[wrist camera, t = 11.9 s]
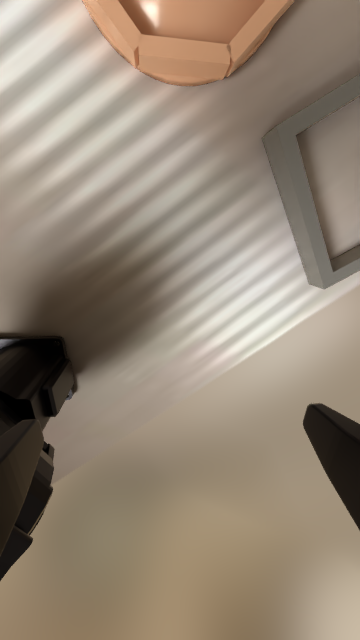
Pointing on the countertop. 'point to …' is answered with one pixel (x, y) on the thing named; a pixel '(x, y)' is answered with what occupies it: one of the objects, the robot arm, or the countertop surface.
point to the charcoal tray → (298, 191)
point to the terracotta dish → (186, 34)
